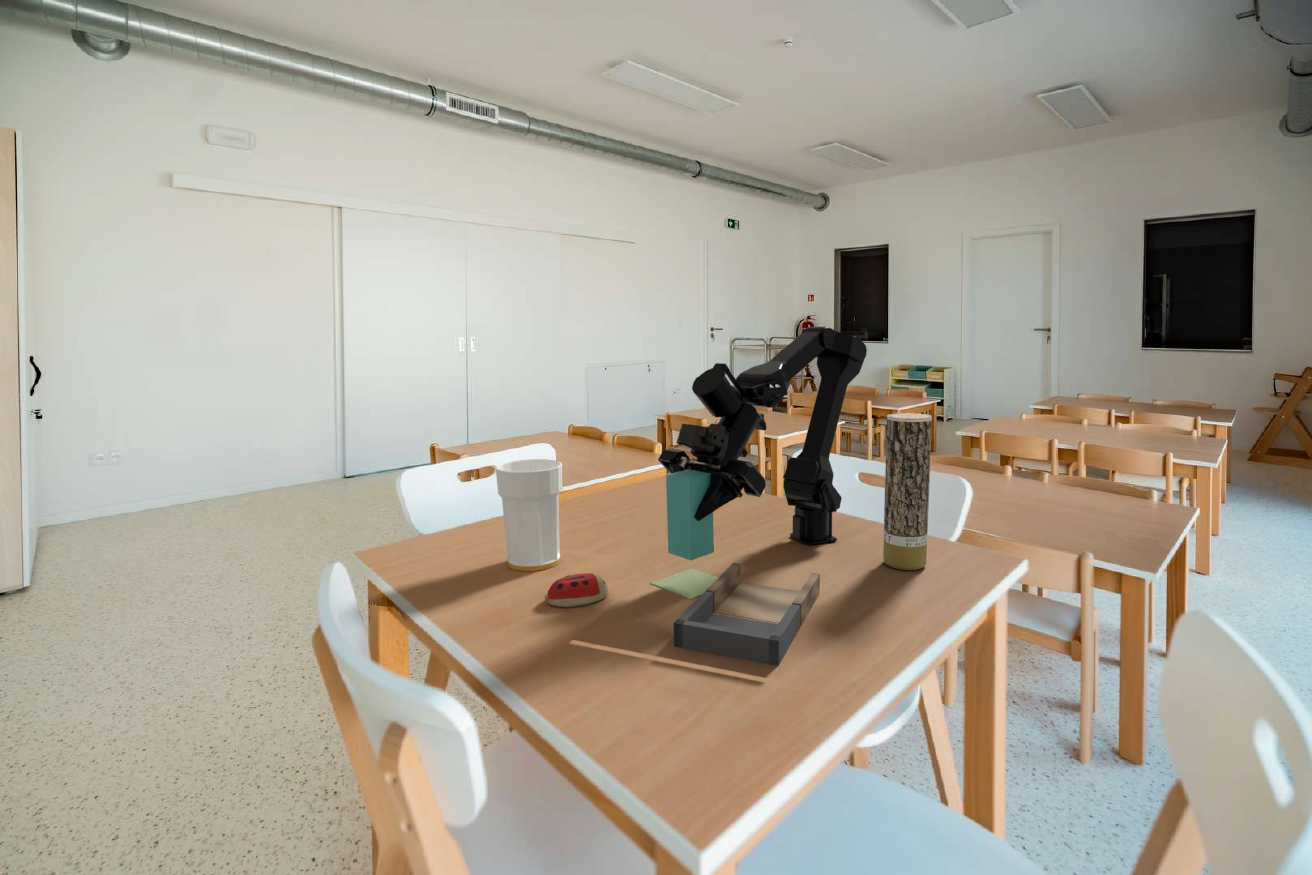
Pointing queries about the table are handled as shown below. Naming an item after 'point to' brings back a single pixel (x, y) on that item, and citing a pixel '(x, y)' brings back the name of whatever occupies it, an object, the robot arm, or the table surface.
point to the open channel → (760, 597)
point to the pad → (687, 583)
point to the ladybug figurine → (577, 590)
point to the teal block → (688, 515)
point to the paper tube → (907, 490)
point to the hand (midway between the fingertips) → (683, 516)
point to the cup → (531, 512)
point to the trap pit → (735, 633)
